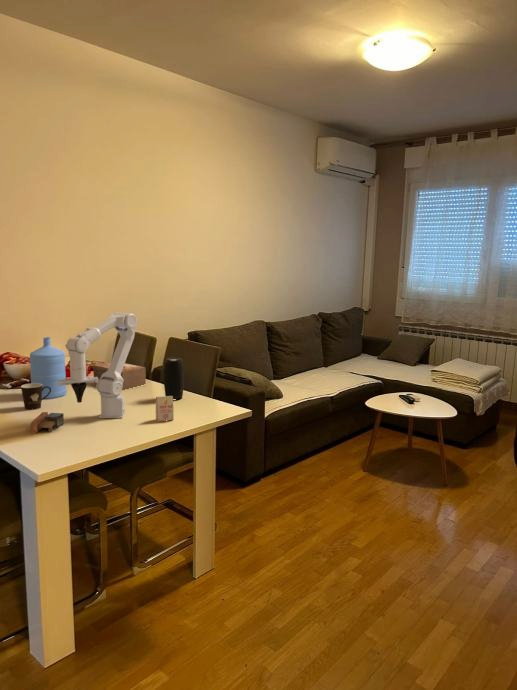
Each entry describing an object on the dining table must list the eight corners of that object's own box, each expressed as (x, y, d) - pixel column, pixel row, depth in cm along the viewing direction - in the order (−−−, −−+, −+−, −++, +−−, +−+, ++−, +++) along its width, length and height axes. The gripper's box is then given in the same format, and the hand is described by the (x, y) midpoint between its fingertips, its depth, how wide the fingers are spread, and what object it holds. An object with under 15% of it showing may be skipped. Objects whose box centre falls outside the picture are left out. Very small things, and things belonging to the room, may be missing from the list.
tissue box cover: (145, 386, 264) (145, 367, 262) (122, 390, 253) (122, 371, 251) (116, 378, 280) (116, 361, 278) (93, 383, 269) (93, 364, 267)
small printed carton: (155, 419, 205) (155, 395, 204) (172, 418, 208) (172, 394, 206) (156, 422, 202) (156, 398, 200) (173, 420, 204) (173, 397, 203)
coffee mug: (20, 411, 213) (19, 388, 212) (24, 405, 221) (22, 383, 220) (49, 409, 216) (48, 387, 215) (52, 404, 225) (51, 382, 223)
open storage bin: (63, 424, 197) (63, 413, 196) (57, 428, 192) (57, 417, 191) (51, 423, 197) (51, 412, 197) (45, 427, 192) (44, 416, 192)
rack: (61, 421, 200) (60, 411, 200) (50, 432, 186) (50, 422, 186) (42, 421, 199) (42, 412, 199) (31, 433, 186) (30, 422, 185)
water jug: (58, 399, 233) (56, 340, 228) (25, 399, 233) (22, 339, 229) (71, 391, 248) (69, 335, 244) (40, 390, 248) (37, 335, 244)
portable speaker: (187, 399, 238) (186, 358, 235) (169, 402, 232) (169, 360, 229) (178, 395, 245) (178, 356, 242) (161, 398, 239) (160, 358, 236)
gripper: (95, 364, 200) (96, 397, 202) (56, 367, 193) (58, 401, 195) (98, 367, 193) (100, 401, 196) (58, 370, 187) (60, 406, 189)
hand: (79, 401), depth 195 cm, fingers closed
